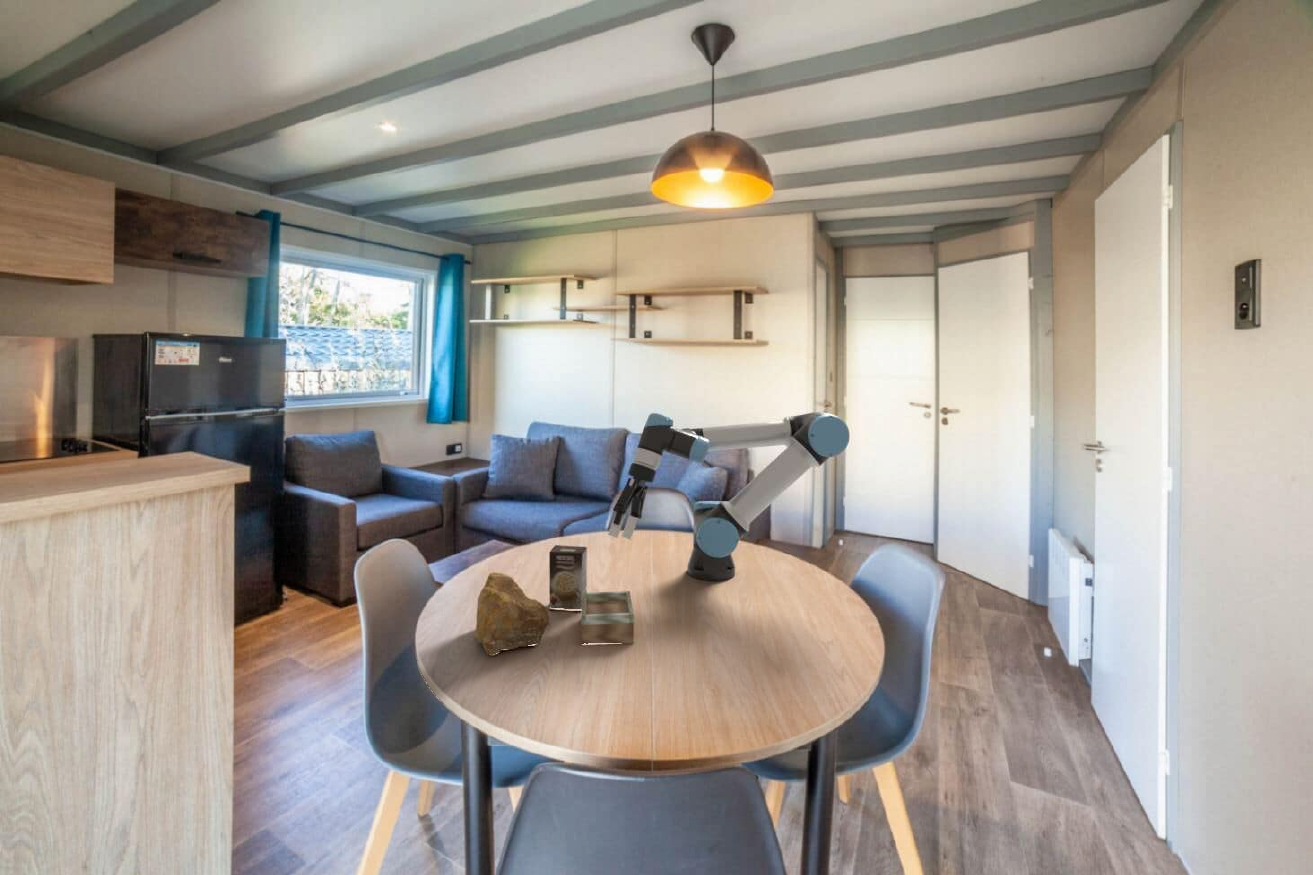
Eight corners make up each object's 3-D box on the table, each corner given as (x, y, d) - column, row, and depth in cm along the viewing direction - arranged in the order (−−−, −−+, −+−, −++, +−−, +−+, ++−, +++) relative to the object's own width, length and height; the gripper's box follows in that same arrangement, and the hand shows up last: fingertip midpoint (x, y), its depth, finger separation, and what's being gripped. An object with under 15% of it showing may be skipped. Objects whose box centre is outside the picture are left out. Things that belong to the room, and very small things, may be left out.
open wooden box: (629, 617, 148) (629, 591, 147) (633, 643, 133) (633, 614, 132) (582, 619, 147) (582, 592, 146) (581, 645, 132) (581, 616, 131)
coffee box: (548, 610, 152) (547, 551, 150) (554, 601, 158) (554, 544, 157) (582, 612, 151) (582, 552, 149) (587, 603, 157) (587, 545, 156)
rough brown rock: (548, 666, 124) (553, 598, 123) (467, 667, 120) (472, 597, 120) (546, 625, 146) (550, 568, 146) (478, 625, 143) (482, 566, 142)
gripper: (643, 468, 178) (620, 534, 175) (620, 454, 154) (593, 530, 151) (665, 476, 175) (642, 542, 173) (646, 463, 152) (619, 540, 149)
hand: (619, 537), depth 162 cm, fingers open, 13 cm apart
